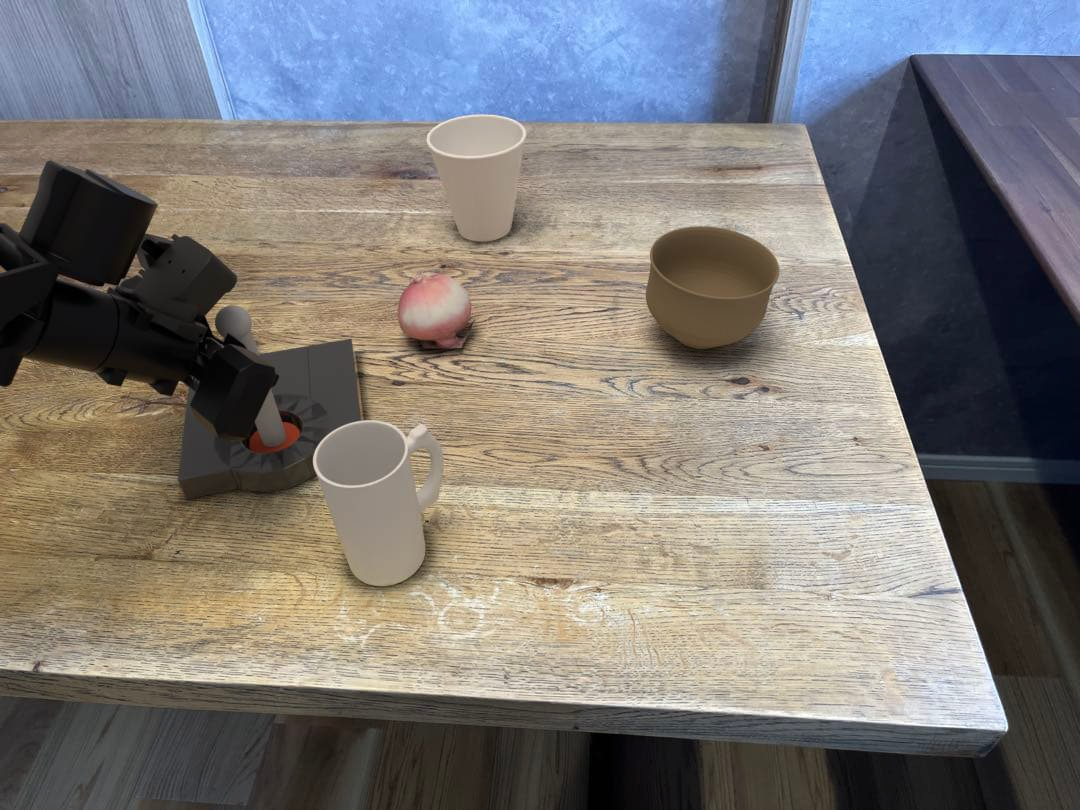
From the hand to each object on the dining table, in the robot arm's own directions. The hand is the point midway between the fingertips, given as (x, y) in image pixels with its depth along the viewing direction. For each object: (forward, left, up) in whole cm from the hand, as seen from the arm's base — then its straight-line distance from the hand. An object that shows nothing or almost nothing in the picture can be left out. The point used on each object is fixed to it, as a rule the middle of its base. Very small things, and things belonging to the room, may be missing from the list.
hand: (268, 374), depth 71 cm
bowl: (+43, +4, -9) cm, 44 cm away
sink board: (-1, +3, -8) cm, 9 cm away
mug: (+9, -15, -9) cm, 19 cm away
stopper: (-1, -1, -8) cm, 8 cm away
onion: (+16, +12, -9) cm, 22 cm away
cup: (+25, +33, -9) cm, 42 cm away
